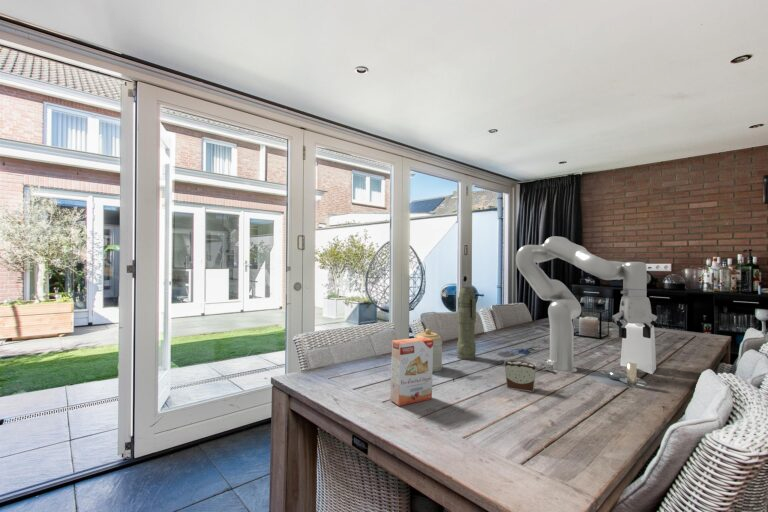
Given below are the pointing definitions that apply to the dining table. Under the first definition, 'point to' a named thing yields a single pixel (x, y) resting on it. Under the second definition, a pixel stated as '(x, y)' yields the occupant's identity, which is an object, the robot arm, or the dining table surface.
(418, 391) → the cracker box
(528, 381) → the food container
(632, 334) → the milk
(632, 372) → the lever
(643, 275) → the robot arm
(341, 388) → the dining table surface
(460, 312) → the thermos
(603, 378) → the dial board
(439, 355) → the jar
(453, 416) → the dining table surface
